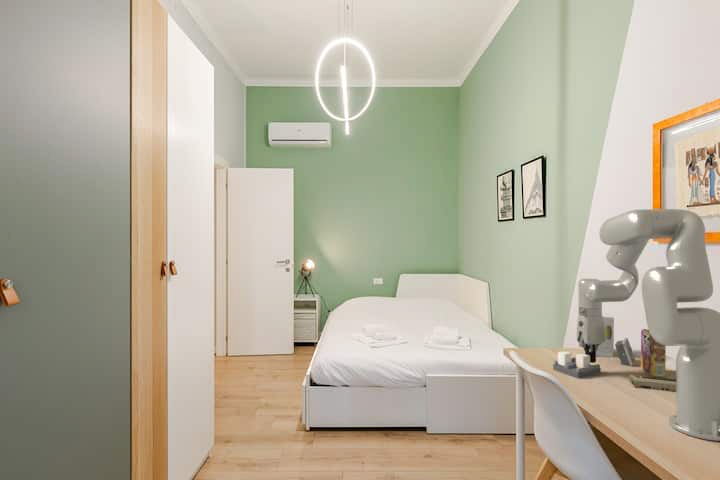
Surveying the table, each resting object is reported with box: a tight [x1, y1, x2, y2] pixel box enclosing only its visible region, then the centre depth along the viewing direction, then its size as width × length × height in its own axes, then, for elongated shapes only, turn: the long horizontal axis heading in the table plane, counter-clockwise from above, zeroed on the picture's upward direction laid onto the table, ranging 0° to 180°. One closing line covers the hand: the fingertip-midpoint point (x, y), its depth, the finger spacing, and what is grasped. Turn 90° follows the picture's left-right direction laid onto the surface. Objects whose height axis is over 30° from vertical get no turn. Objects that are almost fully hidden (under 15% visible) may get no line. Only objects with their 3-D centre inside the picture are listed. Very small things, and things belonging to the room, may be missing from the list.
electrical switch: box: [614, 337, 636, 367], centre depth 161 cm, size 9×5×9 cm, turn 141°
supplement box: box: [595, 312, 615, 358], centre depth 173 cm, size 10×9×17 cm
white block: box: [575, 353, 591, 367], centre depth 149 cm, size 3×4×4 cm
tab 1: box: [557, 350, 572, 366], centre depth 152 cm, size 3×4×4 cm
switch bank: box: [552, 356, 602, 379], centre depth 151 cm, size 10×12×3 cm
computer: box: [628, 374, 676, 393], centre depth 136 cm, size 16×8×3 cm, turn 68°
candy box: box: [640, 328, 667, 378], centre depth 149 cm, size 9×4×15 cm, turn 171°
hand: (590, 361), depth 150 cm, fingers closed
